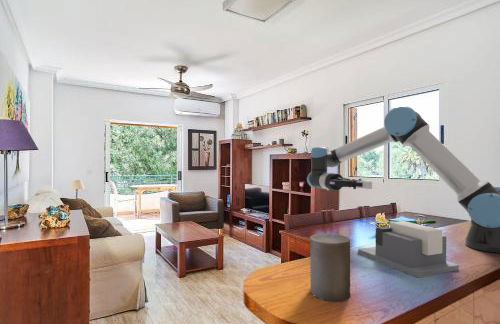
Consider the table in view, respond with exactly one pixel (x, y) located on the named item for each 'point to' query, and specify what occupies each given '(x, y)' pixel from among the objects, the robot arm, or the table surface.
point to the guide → (407, 254)
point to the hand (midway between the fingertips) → (370, 185)
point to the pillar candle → (330, 266)
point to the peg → (421, 235)
